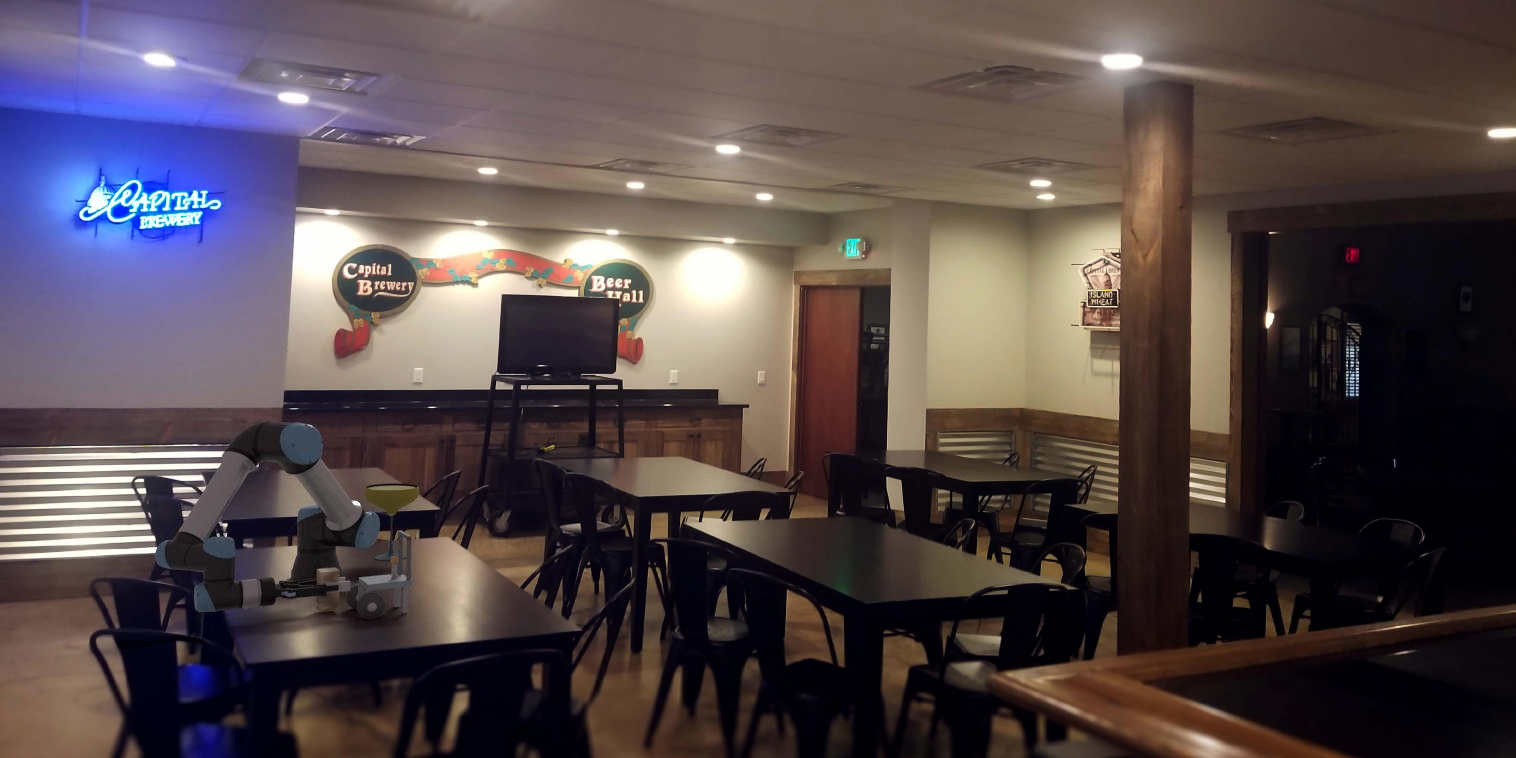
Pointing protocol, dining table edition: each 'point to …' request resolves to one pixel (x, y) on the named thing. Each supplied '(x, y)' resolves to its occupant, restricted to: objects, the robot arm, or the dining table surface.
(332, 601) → the block
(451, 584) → the dining table surface
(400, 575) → the trolley
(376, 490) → the cocktail glass
